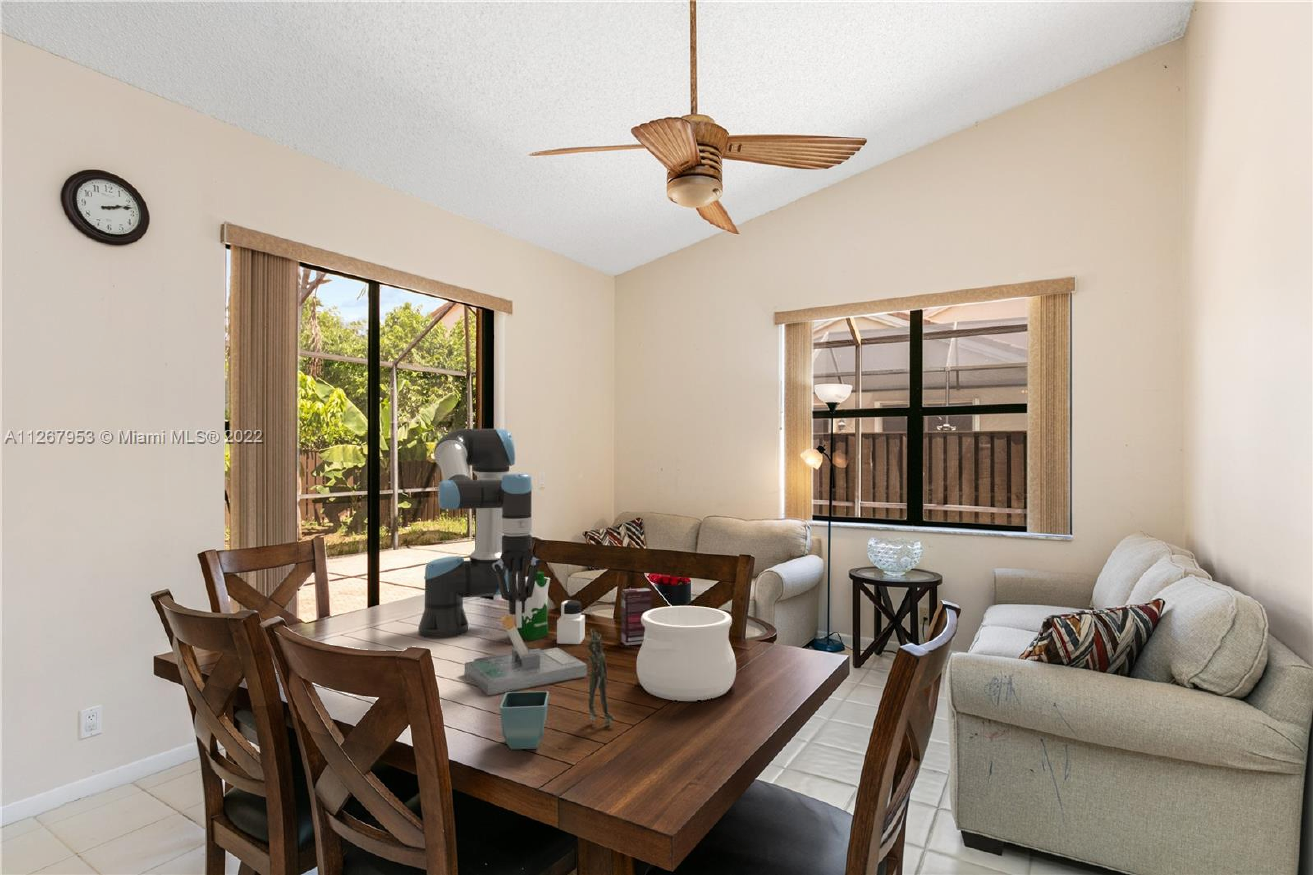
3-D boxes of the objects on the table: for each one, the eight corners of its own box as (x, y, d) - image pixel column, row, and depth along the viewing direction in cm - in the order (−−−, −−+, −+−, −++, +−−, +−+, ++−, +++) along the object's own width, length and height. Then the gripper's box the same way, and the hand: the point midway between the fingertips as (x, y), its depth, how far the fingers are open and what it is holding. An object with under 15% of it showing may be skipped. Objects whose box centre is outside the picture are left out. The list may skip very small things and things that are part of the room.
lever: (520, 660, 179) (499, 619, 176) (527, 656, 180) (506, 614, 177) (526, 664, 176) (505, 622, 173) (533, 660, 177) (512, 618, 174)
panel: (464, 674, 178) (464, 651, 178) (557, 658, 192) (557, 636, 192) (488, 695, 163) (488, 670, 163) (586, 676, 177) (586, 652, 177)
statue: (607, 733, 142) (607, 635, 142) (582, 726, 145) (582, 631, 145) (619, 725, 146) (620, 629, 146) (594, 719, 149) (595, 626, 149)
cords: (468, 668, 183) (468, 658, 183) (540, 656, 194) (541, 646, 194) (473, 673, 179) (473, 662, 179) (547, 660, 190) (547, 650, 190)
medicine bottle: (585, 638, 213) (585, 599, 213) (580, 644, 206) (580, 604, 206) (562, 637, 214) (562, 598, 214) (556, 643, 207) (556, 603, 207)
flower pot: (504, 736, 140) (505, 691, 140) (548, 734, 141) (549, 690, 141) (498, 755, 131) (499, 707, 132) (545, 753, 132) (545, 706, 132)
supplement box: (647, 639, 212) (647, 587, 213) (652, 643, 208) (652, 590, 208) (620, 641, 209) (620, 589, 210) (625, 645, 205) (625, 592, 205)
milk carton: (532, 641, 209) (532, 575, 209) (511, 637, 214) (512, 572, 214) (552, 635, 216) (553, 571, 216) (532, 631, 221) (532, 568, 221)
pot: (686, 664, 187) (686, 599, 188) (758, 687, 170) (758, 615, 170) (613, 687, 169) (613, 615, 169) (686, 715, 152) (686, 635, 152)
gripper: (497, 537, 170) (497, 633, 170) (546, 533, 177) (546, 626, 177) (487, 534, 176) (487, 627, 176) (534, 530, 183) (534, 620, 183)
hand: (517, 626), depth 176 cm, fingers closed
